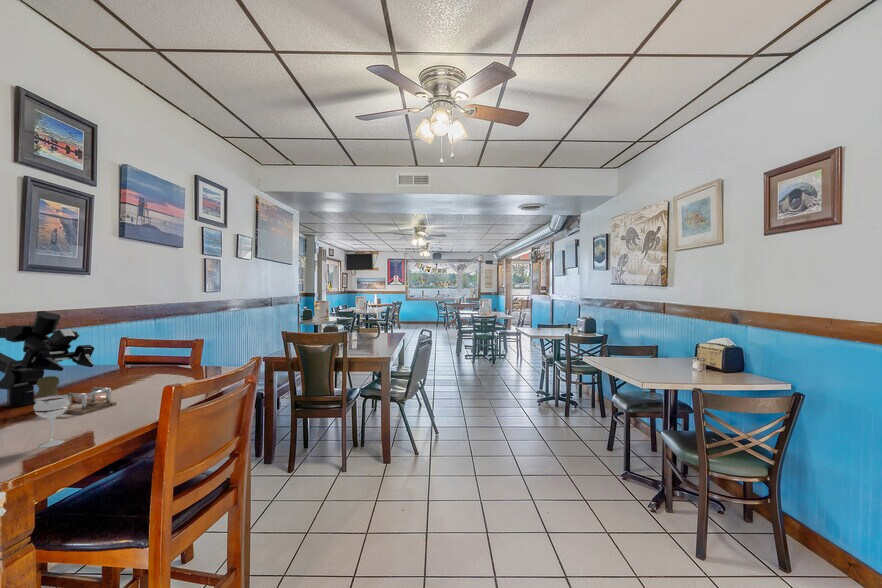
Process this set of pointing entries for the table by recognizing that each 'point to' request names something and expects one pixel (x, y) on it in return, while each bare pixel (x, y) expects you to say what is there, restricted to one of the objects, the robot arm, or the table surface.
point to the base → (94, 407)
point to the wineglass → (51, 412)
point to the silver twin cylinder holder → (93, 394)
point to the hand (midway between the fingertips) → (78, 367)
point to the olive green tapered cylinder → (47, 386)
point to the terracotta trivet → (98, 398)
